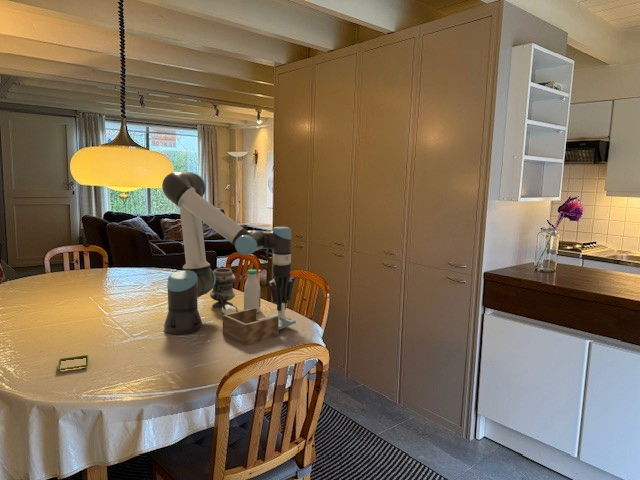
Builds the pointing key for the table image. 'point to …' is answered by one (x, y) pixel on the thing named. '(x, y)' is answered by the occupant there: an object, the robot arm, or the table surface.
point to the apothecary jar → (223, 287)
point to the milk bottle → (252, 291)
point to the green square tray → (73, 359)
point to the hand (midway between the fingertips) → (281, 317)
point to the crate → (249, 326)
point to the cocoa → (227, 307)
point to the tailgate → (282, 321)
